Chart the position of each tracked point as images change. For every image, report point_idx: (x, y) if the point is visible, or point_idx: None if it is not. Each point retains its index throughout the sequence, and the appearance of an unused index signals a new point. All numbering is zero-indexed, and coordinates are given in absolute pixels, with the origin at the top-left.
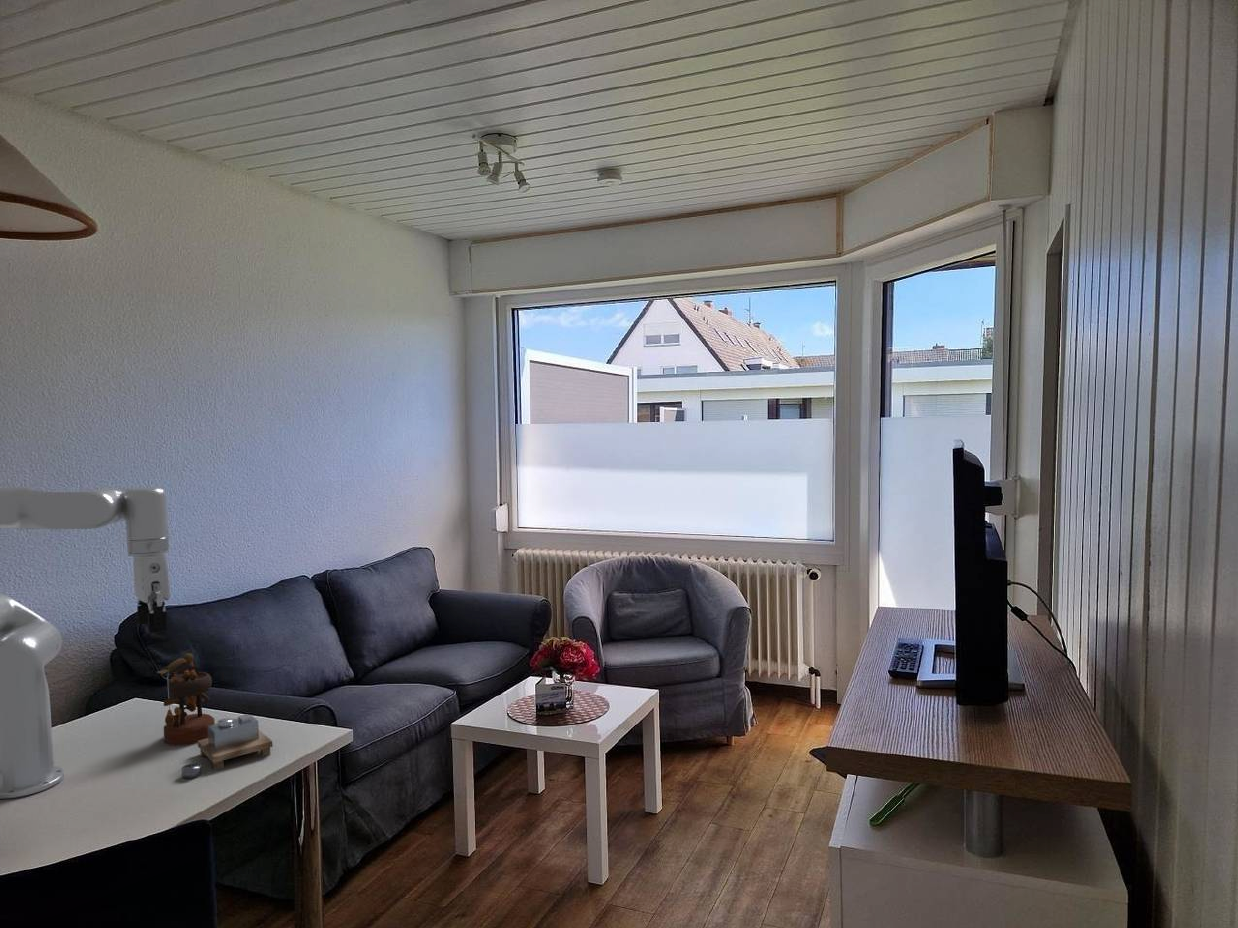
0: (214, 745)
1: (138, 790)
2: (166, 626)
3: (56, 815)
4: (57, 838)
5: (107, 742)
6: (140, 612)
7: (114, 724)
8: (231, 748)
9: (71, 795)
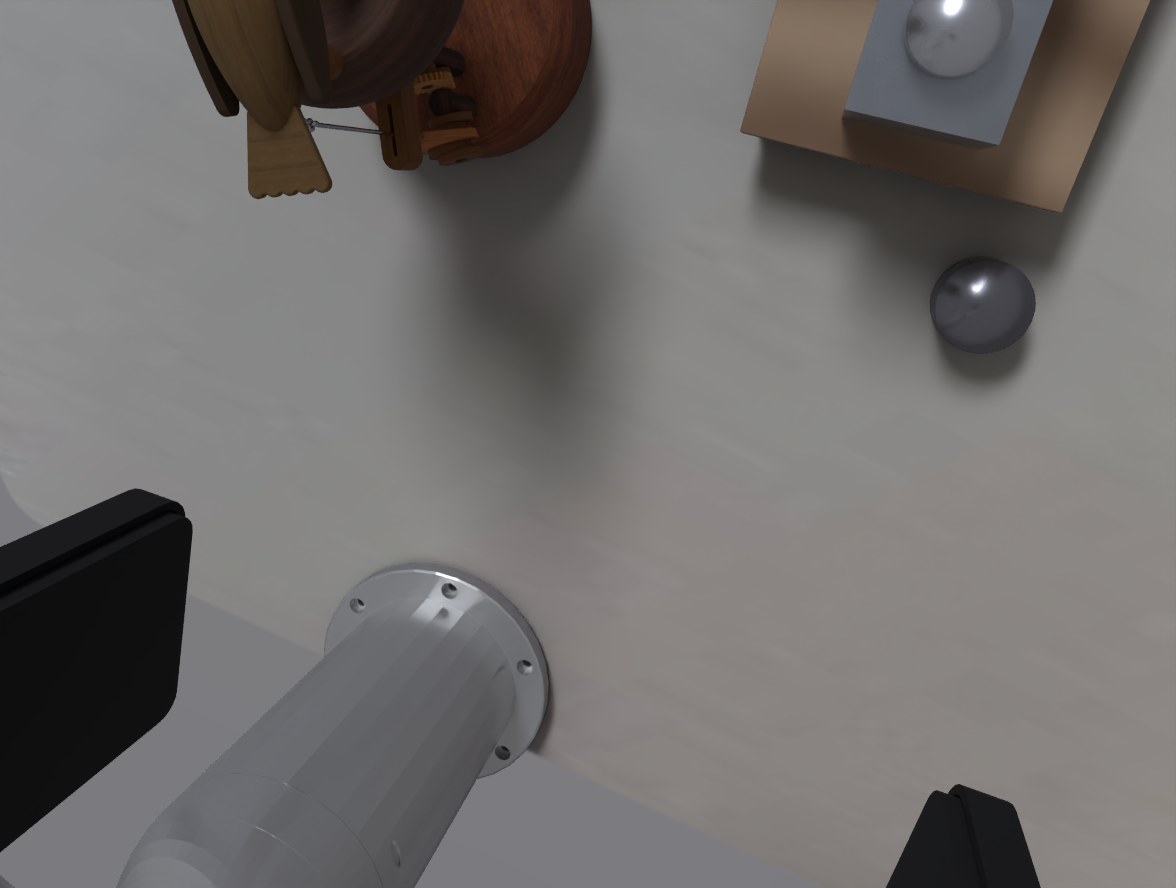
0: (968, 145)
1: (891, 509)
2: (1022, 842)
3: (813, 758)
4: None
5: (245, 303)
6: (15, 820)
7: (50, 176)
8: (1047, 75)
9: (681, 648)
